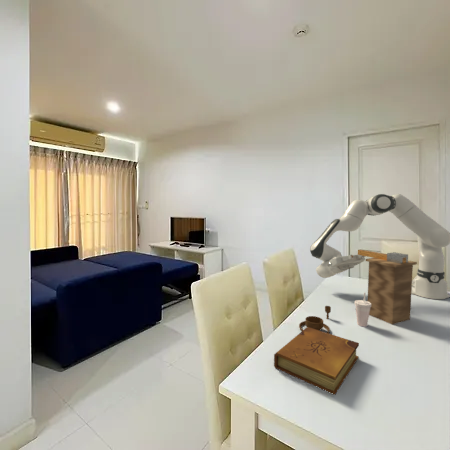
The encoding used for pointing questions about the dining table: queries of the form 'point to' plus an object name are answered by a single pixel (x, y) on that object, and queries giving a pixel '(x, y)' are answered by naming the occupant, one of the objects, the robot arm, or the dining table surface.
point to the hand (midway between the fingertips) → (358, 255)
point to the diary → (318, 358)
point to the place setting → (316, 321)
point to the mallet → (386, 256)
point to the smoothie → (362, 311)
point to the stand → (390, 290)
